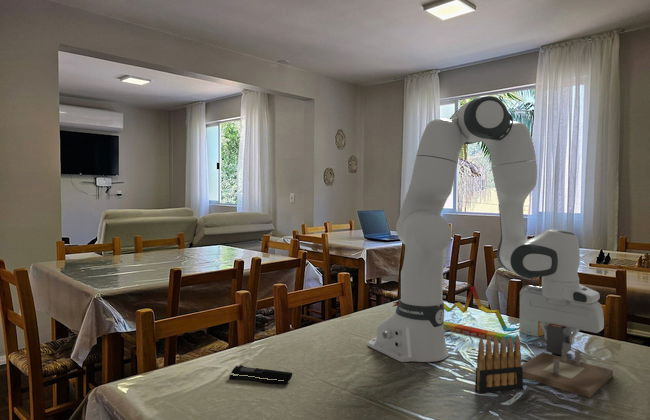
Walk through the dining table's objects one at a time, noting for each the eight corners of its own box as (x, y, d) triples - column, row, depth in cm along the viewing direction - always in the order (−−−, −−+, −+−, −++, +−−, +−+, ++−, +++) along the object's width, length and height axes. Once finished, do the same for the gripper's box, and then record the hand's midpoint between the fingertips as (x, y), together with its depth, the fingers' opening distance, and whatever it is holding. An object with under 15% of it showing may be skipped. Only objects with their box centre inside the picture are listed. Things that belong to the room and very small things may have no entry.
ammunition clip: (518, 385, 100) (518, 333, 99) (523, 389, 98) (523, 335, 98) (474, 390, 98) (475, 336, 97) (479, 393, 96) (479, 339, 96)
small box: (538, 337, 132) (538, 294, 132) (518, 332, 137) (519, 290, 137) (553, 332, 137) (553, 291, 136) (533, 327, 142) (534, 287, 141)
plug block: (546, 351, 118) (547, 324, 118) (555, 346, 122) (555, 320, 122) (562, 355, 115) (563, 328, 115) (571, 350, 119) (571, 323, 119)
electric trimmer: (288, 389, 100) (289, 375, 100) (227, 380, 105) (227, 367, 104) (294, 382, 104) (294, 369, 104) (235, 374, 108) (235, 361, 108)
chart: (418, 324, 147) (418, 280, 147) (423, 322, 149) (423, 278, 149) (511, 345, 126) (512, 293, 126) (516, 342, 129) (516, 291, 128)
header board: (515, 375, 105) (515, 354, 105) (542, 357, 116) (542, 339, 116) (589, 397, 94) (590, 374, 93) (612, 376, 104) (613, 355, 104)
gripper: (516, 285, 124) (515, 334, 124) (598, 298, 108) (597, 354, 109) (526, 282, 128) (525, 329, 128) (606, 294, 113) (605, 348, 113)
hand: (559, 341), depth 118 cm, fingers closed on plug block, 4 cm apart
